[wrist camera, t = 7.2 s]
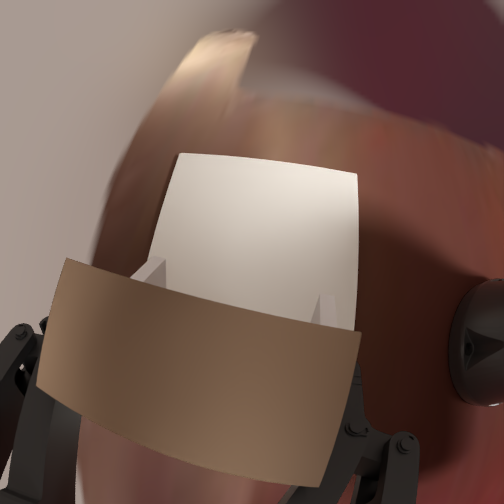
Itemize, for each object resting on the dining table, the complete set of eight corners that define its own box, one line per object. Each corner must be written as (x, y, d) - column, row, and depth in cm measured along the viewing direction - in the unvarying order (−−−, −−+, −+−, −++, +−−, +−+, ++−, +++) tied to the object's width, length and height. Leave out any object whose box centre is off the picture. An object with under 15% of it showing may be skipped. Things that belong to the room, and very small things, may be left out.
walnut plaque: (298, 342, 17) (361, 332, 6) (282, 405, 16) (315, 495, 5) (178, 313, 18) (66, 257, 7) (163, 373, 17) (35, 393, 6)
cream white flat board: (181, 157, 31) (180, 152, 30) (354, 177, 30) (356, 174, 29) (124, 409, 22) (121, 411, 21) (333, 444, 21) (335, 447, 20)
